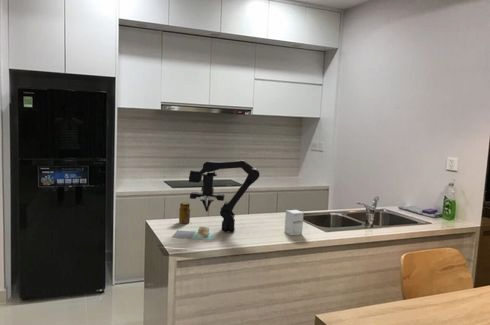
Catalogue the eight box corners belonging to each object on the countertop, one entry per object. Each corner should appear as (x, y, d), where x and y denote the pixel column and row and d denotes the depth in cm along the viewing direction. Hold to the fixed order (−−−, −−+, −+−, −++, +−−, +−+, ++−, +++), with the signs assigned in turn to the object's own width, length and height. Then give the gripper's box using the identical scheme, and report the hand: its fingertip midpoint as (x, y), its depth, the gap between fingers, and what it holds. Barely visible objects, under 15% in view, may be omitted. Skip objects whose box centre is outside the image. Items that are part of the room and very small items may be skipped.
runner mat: (214, 233, 209) (214, 232, 209) (210, 241, 197) (210, 239, 197) (177, 231, 210) (177, 230, 210) (171, 238, 198) (171, 237, 198)
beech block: (208, 234, 205) (209, 227, 205) (207, 237, 200) (207, 230, 200) (199, 234, 205) (199, 226, 205) (197, 237, 201) (198, 229, 200)
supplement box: (291, 236, 213) (292, 213, 211) (283, 232, 219) (285, 210, 218) (302, 234, 216) (304, 212, 215) (294, 230, 223) (296, 209, 221)
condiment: (186, 221, 230) (187, 201, 229) (194, 225, 224) (194, 204, 222) (175, 223, 226) (176, 202, 224) (183, 226, 219) (183, 205, 218)
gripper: (226, 182, 221) (225, 209, 223) (193, 180, 222) (192, 207, 224) (224, 185, 210) (222, 214, 212) (190, 183, 211) (189, 211, 213)
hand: (206, 211), depth 216 cm, fingers closed
